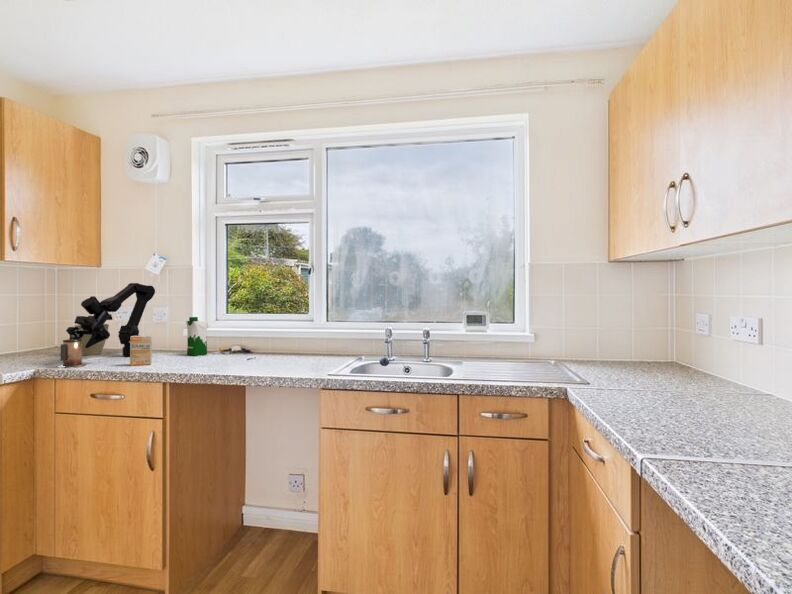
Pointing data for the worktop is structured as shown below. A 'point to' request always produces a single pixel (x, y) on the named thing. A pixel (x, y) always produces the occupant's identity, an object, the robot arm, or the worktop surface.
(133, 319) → the robot arm
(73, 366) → the trivet
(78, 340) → the copper cylinder
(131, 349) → the supplement box
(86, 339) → the plant pot
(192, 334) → the milk carton
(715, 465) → the worktop surface
